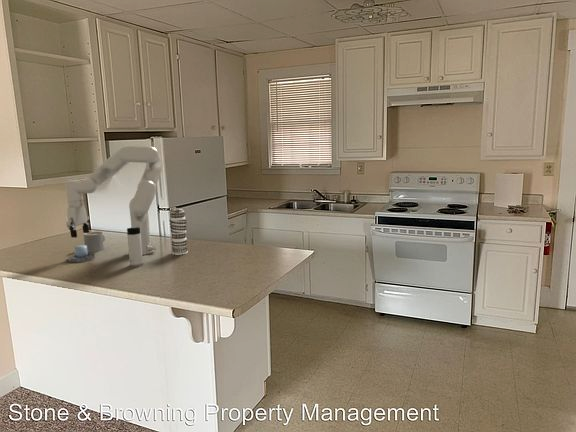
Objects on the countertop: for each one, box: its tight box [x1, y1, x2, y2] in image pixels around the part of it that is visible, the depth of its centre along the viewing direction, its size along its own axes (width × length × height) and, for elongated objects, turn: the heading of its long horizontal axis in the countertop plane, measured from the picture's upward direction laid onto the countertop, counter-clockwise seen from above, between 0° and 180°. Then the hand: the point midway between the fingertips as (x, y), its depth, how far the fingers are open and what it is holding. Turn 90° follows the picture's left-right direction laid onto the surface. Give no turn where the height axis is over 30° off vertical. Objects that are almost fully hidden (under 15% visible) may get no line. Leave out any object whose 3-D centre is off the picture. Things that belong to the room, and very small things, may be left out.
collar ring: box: [67, 252, 96, 263], centre depth 234 cm, size 13×13×2 cm
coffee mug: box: [83, 230, 106, 253], centre depth 252 cm, size 13×10×10 cm
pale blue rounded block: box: [74, 244, 88, 257], centre depth 233 cm, size 6×6×7 cm
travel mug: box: [126, 227, 144, 268], centre depth 219 cm, size 6×7×20 cm
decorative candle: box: [169, 207, 189, 256], centre depth 240 cm, size 9×9×25 cm
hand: (80, 235), depth 231 cm, fingers open, 9 cm apart
